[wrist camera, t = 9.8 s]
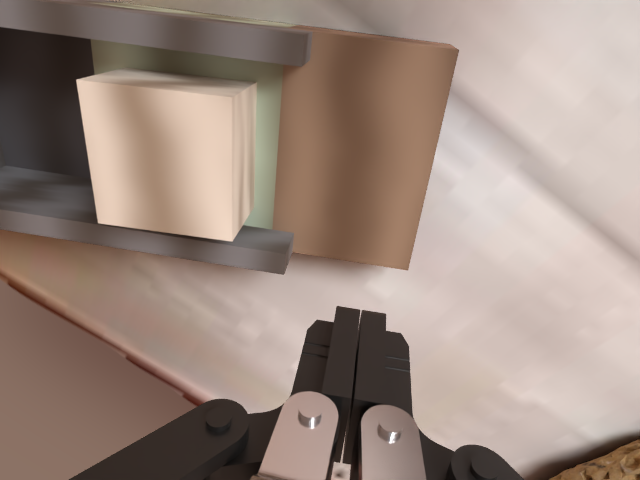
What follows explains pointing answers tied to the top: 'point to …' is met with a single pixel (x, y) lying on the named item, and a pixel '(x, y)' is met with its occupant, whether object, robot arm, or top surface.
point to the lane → (271, 127)
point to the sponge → (608, 466)
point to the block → (170, 150)
